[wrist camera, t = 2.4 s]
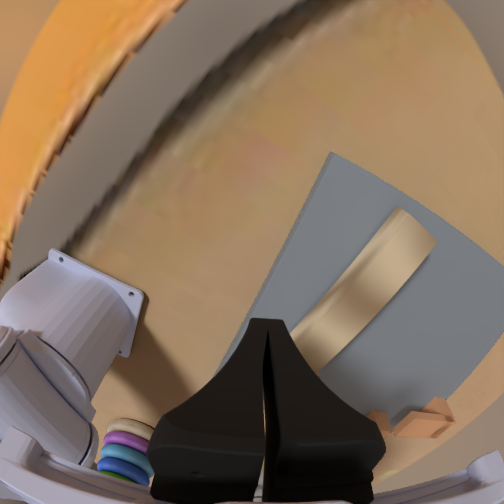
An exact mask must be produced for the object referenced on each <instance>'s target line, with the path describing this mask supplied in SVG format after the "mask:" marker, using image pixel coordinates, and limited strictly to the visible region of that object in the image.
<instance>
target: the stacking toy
mask: <svg viewBox="0 0 504 504" xmlns="http://www.w3.org/2000/svg"><path fill="white" fill-rule="evenodd" d="M153 431H154V430H153V429H152V428H150V427H149V426H147V425H145V424H143V423H140V422H138V421H135V420H131V419H123V418H120V419H115V420H113V421H111V422H110V423H109V425H108V427H107V434H106V435H105V437H104V447H103V448H102V449H101V457H102V459H101V460H99V462H98V464H97V468H98V471H99V472H100V473H103V474H106V475H109V476H112V477H115V478H118V479H122V480H125V481H129V482H132V483H136V484H140V485H144V486H149V483H150V481H149V478H150V477H152V476H153V475H154V471H153V469H152V467H151V465H150V463H149V461H148V459H147V456H146V451H147V448H148V444H149V441H150V438H151V435H152V433H153Z"/></svg>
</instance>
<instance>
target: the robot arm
mask: <svg viewBox="0 0 504 504" xmlns="http://www.w3.org/2000/svg"><path fill="white" fill-rule="evenodd" d="M61 257H62V258H63V260H64V261H63V260H62V258H61ZM130 292H133V293H134V295H132V294H131V293H130ZM143 300H144V294H143V292H142V291H140V290H138V289H136V288H134V287H132V286H130V285H127V284H125V283H123V282H121V281H119V280H117V279H115V278H112V277H110V276H108V275H106V274H104V273H102V272H100V271H98V270H96V269H94V268H92V267H90V266H88V265H86V264H84V263H82V262H80V261H78V260H76V259H74V258H72V257H70V256H68V255H66V254H64V253H62V252H61V251H59V250H57V249H54V248H53V249H51V250H50V251H49V257H48V260H46V261H45V262H44V263H42V264H41V265H40V266H38V267H37V268H36V269H34V270H33V271H32V272H31V273H29V274H28V275H27V276H25V277H24V278H23V279H22V280H21V281H19V282H18V283H17V284H16V285H14V286H13V287H12V288H11V289H10V290H9V291H8V292H7V293H6V294H5V296H4V297H3V299H2V301H1V302H0V499H2V498H3V499H14V500H21V501H26V502H27V503H29V504H500V503H501V502H503V501H504V462H503V460H502V458H501V455H500V453H499V451H498V450H494V451H492V452H489V453H487V454H485V455H482V456H480V457H478V458H477V459H475V460H474V461H473V462H472V463H471V464H469V466H468V467H467V468H466V469H463V470H461V471H458V472H455V473H452V474H449V475H447V476H443V477H440V478H437V479H434V480H431V481H427V482H424V483H420V484H417V485H413V486H409V487H405V488H401V489H396V490H392V491H387V492H382V493H377V494H373V491H372V486H371V482H372V481H373V478H374V477H373V472H372V469H373V468H374V467H375V466H376V465H377V463H378V462H379V461H380V460H381V459H382V457H383V456H384V454H385V452H386V446H385V442H384V439H383V436H382V434H381V431H380V429H379V427H378V425H377V423H376V422H374V421H373V420H371V419H369V418H368V417H366V416H364V415H363V414H361V413H359V412H358V411H356V410H355V409H353V408H352V407H351V406H349V405H348V404H347V403H345V402H344V401H343V400H342V399H340V398H339V397H338V396H337V395H336V394H335V393H334V392H332V391H331V390H330V389H329V388H328V387H327V386H326V385H325V384H324V383H323V382H322V380H321V379H320V378H319V377H318V376H317V375H316V374H315V372H314V371H313V370H312V368H311V367H310V366H309V364H308V363H307V362H306V360H305V359H304V357H303V356H302V354H301V353H300V351H299V350H298V348H297V346H296V345H295V343H294V341H293V339H292V337H291V336H290V334H289V332H288V329H287V327H286V325H285V322H284V321H283V320H282V319H267V318H251V319H250V320H249V324H248V327H247V329H246V332H245V334H244V336H243V338H242V339H241V341H240V343H239V345H238V346H237V348H236V350H235V351H234V352H233V354H232V355H231V357H230V358H229V360H228V361H227V362H226V363H225V365H224V366H223V367H222V368H221V370H220V371H219V372H218V373H217V374H216V375H215V376H214V377H213V378H212V379H211V380H210V381H209V382H208V383H207V384H206V385H205V386H204V387H203V388H202V389H200V390H199V391H198V392H197V393H195V394H194V395H193V396H192V397H190V398H189V399H188V400H186V401H185V402H184V403H182V404H181V405H179V406H177V407H176V408H174V409H173V410H171V411H169V412H168V413H166V414H164V415H163V416H162V418H161V419H160V421H159V422H158V424H157V426H156V427H155V429H154V431H153V433H152V435H151V438H150V441H149V444H148V448H147V451H146V456H147V459H148V461H149V463H150V465H151V467H152V469H153V471H154V473H155V474H154V478H153V482H152V486H151V487H148V486H144V485H140V484H136V483H132V482H129V481H125V480H122V479H118V478H115V477H112V476H109V475H106V474H103V473H100V472H97V471H94V470H91V469H90V467H91V466H92V464H93V462H94V460H95V457H96V454H97V450H98V444H99V436H98V432H97V430H96V428H95V426H94V425H93V424H92V423H91V421H92V419H93V417H94V415H95V413H96V410H95V409H94V407H93V406H92V404H91V401H92V399H93V397H94V395H95V393H96V391H97V389H98V387H99V386H100V384H101V382H102V380H103V378H104V376H105V375H106V373H107V371H108V369H109V367H110V366H111V364H112V362H113V360H114V358H115V357H116V355H117V354H118V355H120V356H122V357H125V358H127V357H129V355H130V352H131V347H132V343H133V339H134V335H135V331H136V326H137V323H138V319H139V315H140V311H141V307H142V303H143ZM263 394H264V407H265V423H266V430H265V431H264V413H263ZM263 461H264V473H263V489H262V502H253V499H254V495H255V491H256V488H257V486H258V482H259V478H260V473H261V469H262V465H263Z"/></svg>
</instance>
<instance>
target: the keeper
mask: <svg viewBox="0 0 504 504" xmlns="http://www.w3.org/2000/svg"><path fill="white" fill-rule="evenodd" d="M366 417H368V418H369V419H371V420H373V421H374V422H376V423H377V425H378V427H379V429H380V431H381V434H382V436H383V439H384V438H386V437H387V436H388V435H389V434H390V433H392V429H391V426H390V423H389V420H388V417H387V414H386V412H382V411H376V410H372V411H371V412H370V413H369V414H368V415H367V416H366ZM455 423H456V421H455V418H454V416H453V414H452V412H451V410H450V408H449V406H448V404H447V402H446V400H445V399H444V398H438V397H435V398H434V399H433V400H432V401H431V402H430V403H428V404H427V405H426V406H425V407H424V408H423V409H422V410H421V411H420V412H416V411H411V412H410V413H409V414H408V415H407V416H406V417H405V418H404V419H403V420H402V421H400V422H399V423H398V424H397V425H396V426H395V427H394V428H393V433H394V436H399V437H415V438H439V437H440V436H441V435H442V434H443V433H445V432H446V431H447V430H448V429H449V428H450V427H451V426H452V425H454V424H455Z"/></svg>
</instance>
